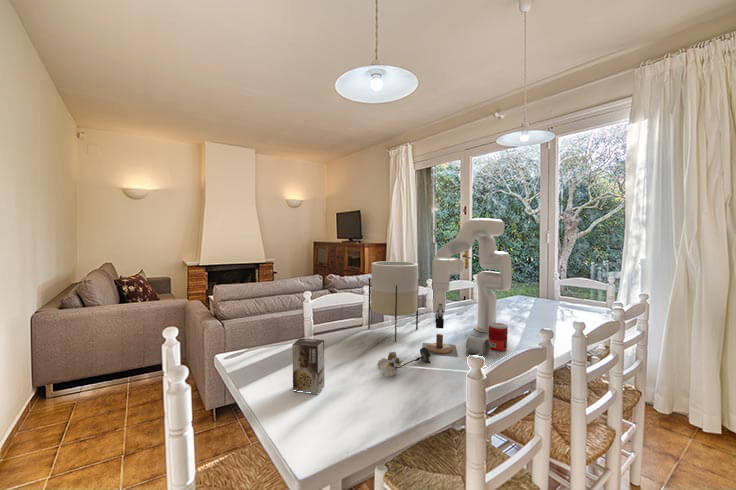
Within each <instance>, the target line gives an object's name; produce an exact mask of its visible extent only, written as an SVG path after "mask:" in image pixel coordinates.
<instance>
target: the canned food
mask: <svg viewBox="0 0 736 490" xmlns="http://www.w3.org/2000/svg"><path fill="white" fill-rule="evenodd" d="M508 329H509V328H508V325H507V324H506V323H503V322H496V323H490V324H489V333H488V337H487V339H488V340H489V341H490V351H493V352H499V353H501V352H506V351H507V349H508V334H509V333H508V331H509V330H508Z"/></svg>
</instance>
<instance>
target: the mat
mask: <svg viewBox="0 0 736 490" xmlns="http://www.w3.org/2000/svg"><path fill="white" fill-rule="evenodd" d="M431 343H432V342H430V343H429V342H422V344H421V345H422V347H421V348H423V347H425V348H426V349H427V345H428V344H431ZM447 345H449V346H451V347H452V352H451V353H448V354H437V353H432V352H430V351H429V353H430V356H439V357H440V356H441V357H454V358H458V357H459V354H458V350H457V345H456V344H447Z"/></svg>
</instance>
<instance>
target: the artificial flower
mask: <svg viewBox="0 0 736 490" xmlns="http://www.w3.org/2000/svg"><path fill="white" fill-rule="evenodd" d="M419 352H420V357H419V356H418V357H416V359H412V360H410V361H408V362H406V363H403V362H404V360H403V359H401V360H400V358H399V357H397V353H396V351H390V352H388V355H387V358H385V357H382V358H381V359H380V360H378V361H377V363H376V366H377V369H378V370H380V371H381V373H382V375H383V376H384V377H392V376H394V375H397V369H398V368H399V369H400V368H402V367H404V366H407V365H408V364H410V363H413V362H419V361H420V360H421V361H422V362H423V363H429V364H431V361H430V358H431V357H432V355H430V353H429V351H428V350H427V349H426V348H425V347H423V348H422V347H421V348H420V349H419ZM402 363H403V364H402ZM401 364H402V365H401Z"/></svg>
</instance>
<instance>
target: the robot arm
mask: <svg viewBox="0 0 736 490" xmlns="http://www.w3.org/2000/svg"><path fill="white" fill-rule="evenodd" d="M504 232H505V224H504V221H503V220H502V219H499V218H497V219H496V218H469V219H467V220H465V221H464V223H463V225H461V228H460V230H459V231H458V233H457V234H456V235H455V238H454V239H453V240H450V241H449V242H446V244H444V245H443V246H442V247H441V248H440V249H438V251H437V252H436V254H435V255H434V258H433V260H432V263H431V266H432V267H431V268H432V273H431V278H432V279H431V290H432V291H433V303H432V306H433V308H432V309H433V311H432V313H433V314H435V317H434V318H435V319H434V320H435V329H444V325H445V323H444V322H445V321H444V314H445V313H446V305H447V292H449V291H450V278H451V277H450V275H460V274H461V273H463V271H464V268H465V263H464V261H463V260H462V259H461V258H458V257H452V256H454V255H458V254H462V253H464V252H467V251H469V250H470V249H472V247H473V245H474V243H475V241H476V240H477V242H478V254H479V255H478V258H479V259H478V260H479V266H480V267H481V268H482V269H486V270H482V271H480V272H478V274H477V276H476V285H477V323H476V325H474V327H473V328H474V330H475V331H477V332H480V333H481V332H482V333H485V334H486V333H487V334H489V324H490V323H497V309H498V308H497V302H498V299H497V295H496V292H495V291H499V292H500V291H501V292H508V291H510V289H511V287H512V281H513V280H512V279H513V278H512V272H513V271H512V269H513V267H512V258H511V256H510V254H509V253H508V252H505V251H498V250H497V242H496V239H495V237H501V236H502V235H503V233H504ZM492 270H493V271H492ZM494 270H496V271H494Z"/></svg>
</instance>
